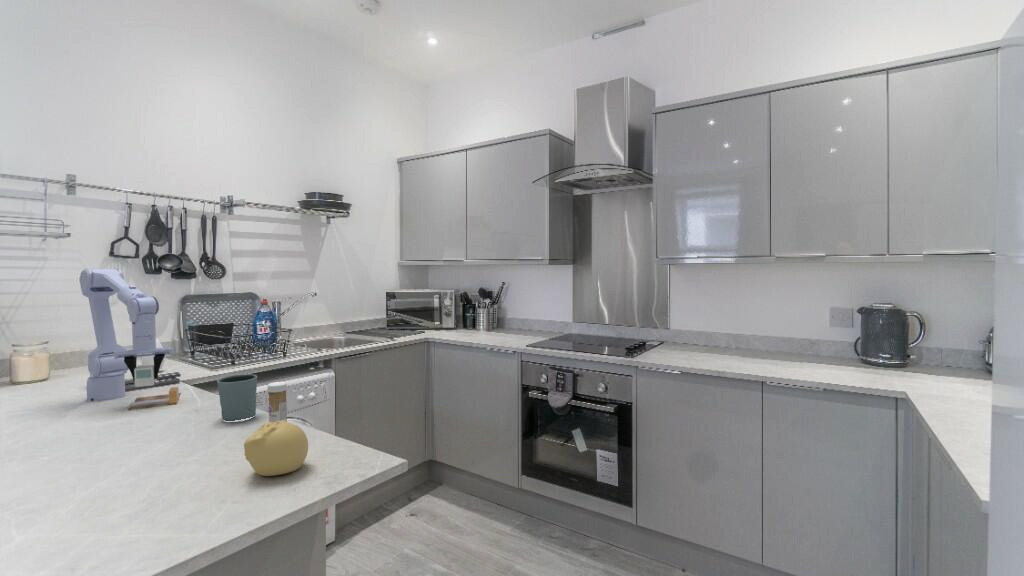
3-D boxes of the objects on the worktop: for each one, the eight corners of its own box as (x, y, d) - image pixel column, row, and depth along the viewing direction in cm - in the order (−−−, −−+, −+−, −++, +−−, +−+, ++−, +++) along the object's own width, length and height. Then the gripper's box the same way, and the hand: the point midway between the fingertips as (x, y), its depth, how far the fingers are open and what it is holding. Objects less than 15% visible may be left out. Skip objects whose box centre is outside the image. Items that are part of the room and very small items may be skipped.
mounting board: (128, 415, 142) (127, 410, 142) (137, 402, 156) (136, 397, 156) (176, 409, 148) (176, 404, 148) (181, 397, 162) (181, 392, 162)
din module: (134, 387, 143) (134, 369, 143) (138, 382, 149) (138, 365, 149) (153, 385, 146) (152, 367, 145) (156, 380, 152) (155, 363, 152)
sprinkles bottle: (264, 434, 125) (263, 384, 125) (279, 429, 130) (277, 380, 129) (277, 437, 124) (276, 386, 123) (291, 431, 128) (290, 382, 127)
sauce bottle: (155, 374, 196) (154, 331, 196) (137, 374, 197) (135, 331, 196) (169, 370, 204) (168, 329, 203) (151, 370, 204) (150, 329, 204)
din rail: (128, 409, 143) (128, 396, 143) (132, 404, 148) (131, 391, 148) (176, 403, 149) (176, 390, 149) (178, 399, 154) (178, 386, 154)
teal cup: (265, 415, 142) (264, 375, 141) (233, 425, 133) (232, 383, 132) (243, 411, 146) (242, 372, 145) (210, 421, 137) (209, 379, 136)
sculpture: (265, 459, 109) (264, 413, 109) (317, 460, 109) (316, 413, 108) (235, 482, 98) (233, 430, 97) (292, 482, 97) (291, 431, 97)
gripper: (111, 339, 140) (112, 385, 140) (171, 335, 147) (172, 379, 148) (116, 336, 146) (117, 380, 146) (173, 333, 153) (175, 374, 154)
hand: (145, 379), depth 147 cm, fingers closed on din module, 4 cm apart
